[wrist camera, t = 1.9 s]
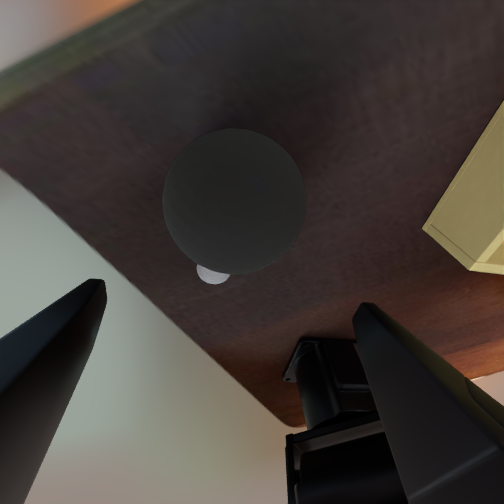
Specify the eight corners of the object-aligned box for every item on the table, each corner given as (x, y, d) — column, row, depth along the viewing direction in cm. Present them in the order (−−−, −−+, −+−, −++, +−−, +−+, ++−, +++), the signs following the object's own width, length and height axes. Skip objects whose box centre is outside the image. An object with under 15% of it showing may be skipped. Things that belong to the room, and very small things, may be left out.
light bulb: (163, 326, 16) (168, 212, 8) (159, 234, 19) (159, 83, 11) (268, 315, 18) (359, 216, 10) (249, 233, 21) (305, 107, 13)
